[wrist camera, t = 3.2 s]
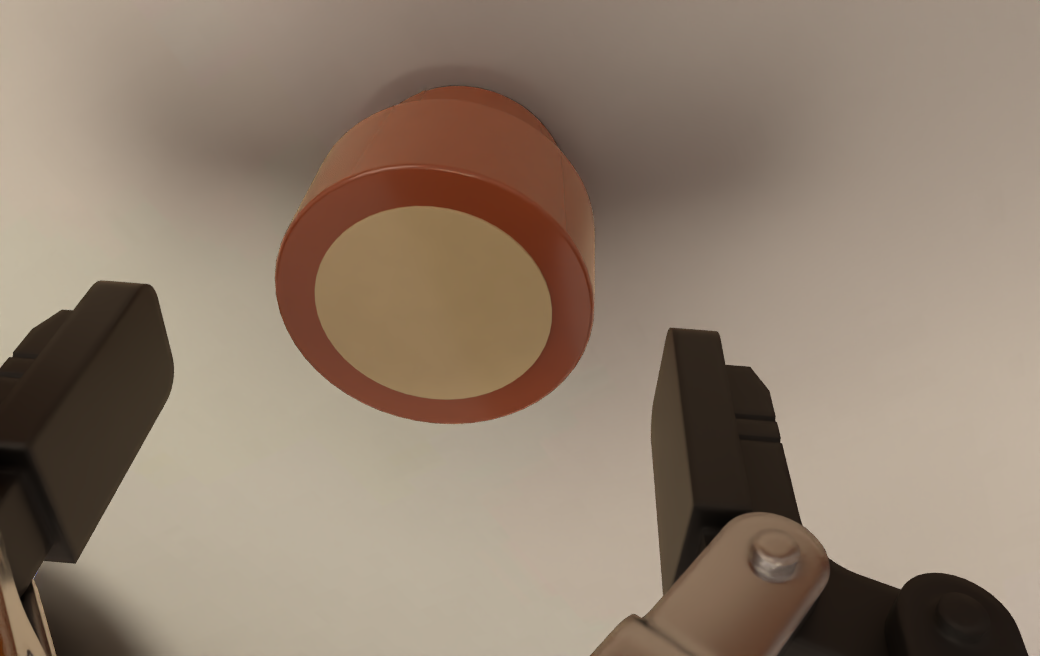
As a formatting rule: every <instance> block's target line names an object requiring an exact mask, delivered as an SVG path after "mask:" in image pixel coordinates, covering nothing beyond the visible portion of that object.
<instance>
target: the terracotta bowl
mask: <svg viewBox="0 0 1040 656" xmlns="http://www.w3.org/2000/svg"><path fill="white" fill-rule="evenodd" d="M275 288H276V297H277V301H278V305H279V310H280V314H281V316H282V319H283V321H284V324H285V327H286V329H287V331H288V333H289V334H290V336H291V338H292V340H293V342H294V343H295V345H296V346H297V348H298V349H299V350H300V352H301V353H302V355H303V356H304V357H305V359H306V360H307V361H308V362H309V363H310V364H311V365H312V366H313V367H314V368H315V369H316V370H317V371H318V372H319V373H320V374H321V375H322V376H323V377H324V378H326V379H327V380H328V381H329V382H330V383H331V384H333V385H334V386H336V387H337V388H339V389H340V390H341V391H343V392H344V393H346V394H347V395H349V396H351V397H353V398H355V399H356V400H358V401H360V402H362V403H364V404H366V405H368V406H371V407H373V408H375V409H377V410H380V411H383V412H386V413H389V414H392V415H395V416H398V417H402V418H406V419H411V420H415V421H421V422H429V423H440V424H463V423H475V422H481V421H488V420H492V419H496V418H500V417H503V416H507V415H510V414H512V413H515V412H517V411H520V410H523V409H525V408H527V407H528V406H530V405H532V404H534V403H536V402H538V401H539V400H541V399H542V398H544V397H545V396H547V395H548V394H549V393H551V392H552V391H553V390H554V389H555V388H557V387H558V386H559V385H560V384H561V383H562V382H563V381H564V380H565V379H566V378H567V376H568V375H569V374H570V373H571V371H572V370H573V369H574V368H575V366H576V365H577V363H578V362H579V360H580V358H581V356H582V355H583V353H584V351H585V349H586V346H587V343H588V341H589V338H590V335H591V331H592V326H593V321H594V300H595V226H594V217H593V211H592V207H591V203H590V200H589V196H588V194H587V191H586V189H585V187H584V184H583V182H582V180H581V178H580V177H579V175H578V173H577V172H576V170H575V168H574V167H573V165H572V164H571V163H570V161H569V160H568V159H567V158H566V156H565V155H564V154H563V153H562V152H561V150H560V149H559V148H558V147H557V145H556V143H555V141H554V139H553V138H552V136H551V134H550V133H549V131H548V130H547V129H546V128H545V127H544V125H543V124H542V123H541V122H540V121H539V120H538V119H537V118H536V117H535V116H534V115H533V114H532V113H531V112H530V111H528V110H527V109H525V108H524V107H523V106H521V105H520V104H518V103H517V102H515V101H513V100H511V99H509V98H508V97H505V96H503V95H501V94H498V93H496V92H493V91H489V90H485V89H482V88H475V87H468V86H448V87H439V88H435V89H431V90H427V91H424V92H421V93H418V94H416V95H413V96H411V97H410V98H408V99H406V100H404V101H403V102H401V103H400V104H398V105H395V106H392V107H389V108H387V109H384V110H382V111H379V112H377V113H375V114H373V115H371V116H369V117H368V118H366V119H364V120H362V121H361V122H359V123H358V124H357V125H355V126H354V127H353V128H351V129H350V130H349V131H348V132H346V133H345V134H344V135H343V136H342V137H341V138H340V140H339V141H338V142H337V143H336V144H335V145H334V146H333V147H332V149H331V150H330V152H329V153H328V155H327V156H326V158H325V159H324V161H323V163H322V165H321V167H320V168H319V170H318V172H317V174H316V176H315V178H314V180H313V182H312V183H311V185H310V187H309V189H308V191H307V193H306V195H305V197H304V199H303V200H302V202H301V204H300V206H299V208H298V210H297V212H296V214H295V215H294V217H293V219H292V221H291V223H290V225H289V227H288V229H287V231H286V233H285V235H284V238H283V240H282V242H281V244H280V248H279V252H278V256H277V259H276V269H275Z"/></svg>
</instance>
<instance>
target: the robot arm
mask: <svg viewBox="0 0 1040 656" xmlns="http://www.w3.org/2000/svg"><path fill="white" fill-rule="evenodd" d="M173 378H174V363H173V357H172V353H171V349H170V345H169V341H168V337H167V333H166V329H165V325H164V321H163V317H162V313H161V309H160V305H159V301H158V297H157V294H156V292H155V290H154V288H153V287H152V286H151V285H149V284H139V283H127V282H114V281H98V282H96V283H95V284H94V285H93V286H92V287H91V288H90V289H89V291H88V292H87V293H86V295H85V296H84V297H83V298H82V300H81V301H80V302H79V304H78V305H77V306H76V307H75V309H74V310H73V311H72V310H61V311H59V312H58V313H56V314H55V315H53V316H52V317H50V318H49V319H47V320H45V321H44V322H42V323H41V324H39V325H38V326H36V327H35V328H33V329H32V330H31V331H30V332H29V334H28V335H27V336H26V337H25V338H24V340H23V341H22V342H21V343H20V345H19V346H18V347H17V348H16V349H15V351H14V352H13V357H9V358H8V359H7V360H6V362H5V363H4V364H3V365H2V367H1V368H0V656H56V653H55V649H54V645H53V642H52V638H51V635H50V631H49V628H48V624H47V620H46V617H45V613H44V610H43V606H42V603H41V599H40V595H39V592H38V589H37V586H36V584H35V582H34V580H33V578H34V576H35V574H36V573H37V571H38V569H39V568H40V566H41V564H42V563H43V561H52V562H63V563H75V564H76V562H77V560H78V558H79V557H80V555H81V553H82V551H83V549H84V548H85V546H86V544H87V542H88V541H89V539H90V537H91V535H92V533H93V532H94V530H95V528H96V526H97V524H98V523H99V521H100V519H101V517H102V516H103V514H104V512H105V510H106V508H107V507H108V505H109V503H110V501H111V499H112V498H113V496H114V494H115V492H116V491H117V489H118V487H119V485H120V483H121V482H122V480H123V478H124V476H125V474H126V473H127V471H128V469H129V467H130V466H131V464H132V462H133V460H134V458H135V457H136V455H137V453H138V451H139V450H140V448H141V446H142V444H143V442H144V441H145V439H146V437H147V435H148V433H149V432H150V430H151V428H152V426H153V425H154V423H155V421H156V419H157V417H158V416H159V414H160V412H161V410H162V408H163V407H164V405H165V403H166V401H167V399H168V397H169V395H170V392H171V389H172V384H173ZM775 417H776V416H775V412H774V408H773V404H772V400H771V396H770V392H769V390H768V389H767V387H766V386H765V385H764V384H763V382H762V381H761V380H760V379H759V377H758V376H757V375H756V374H755V372H754V371H753V370H752V369H751V367H745V366H733V365H725V360H724V355H723V350H722V344H721V339H720V335H719V333H718V332H717V331H707V330H694V329H682V328H669V330H668V333H667V336H666V341H665V346H664V351H663V356H662V361H661V366H660V371H659V376H658V381H657V386H656V391H655V396H654V402H653V409H652V419H651V444H652V457H653V470H654V483H655V496H656V509H657V522H658V535H659V548H660V560H661V573H662V586H663V597H662V598H661V599H660V600H659V601H658V602H657V604H656V605H655V606H654V607H653V608H652V609H651V610H650V611H649V612H648V613H647V614H646V615H645V616H644V617H642V618H640V617H639V616H638V615H636V614H632V615H630V616H628V617H627V618H625V619H624V620H623V621H622V622H621V623H619V624H618V625H617V626H616V628H615V629H614V630H613V631H612V632H611V633H610V634H609V635H608V636H607V637H606V639H605V640H604V641H603V642H602V643H601V644H600V645H599V646H598V647H597V649H596V650H595V651H594V652H593V653H592V654H591V655H590V656H1028V653H1027V650H1026V648H1025V645H1024V642H1023V640H1022V637H1021V634H1020V632H1019V629H1018V627H1017V625H1016V623H1015V621H1014V619H1013V618H1012V616H1011V615H1010V613H1009V612H1008V610H1007V609H1006V608H1005V607H1004V606H1003V605H1002V604H1001V603H1000V602H999V601H998V600H997V599H996V598H995V597H994V596H993V595H991V594H990V593H989V592H987V591H986V590H985V589H983V588H981V587H980V586H978V585H976V584H974V583H972V582H970V581H968V580H966V579H963V578H960V577H957V576H954V575H949V574H944V573H927V574H922V575H918V576H916V577H914V578H912V579H910V580H909V581H908V582H907V583H906V584H905V585H904V586H903V588H902V589H898V588H895V587H892V586H889V585H887V584H884V583H881V582H878V581H875V580H873V579H870V578H867V577H864V576H861V575H859V574H856V573H854V572H851V571H849V570H847V569H845V568H843V567H841V566H840V565H838V564H836V563H835V562H833V561H832V560H831V559H829V558H828V556H827V554H826V551H825V549H824V548H823V546H822V544H821V543H820V542H819V540H818V539H817V538H816V537H815V536H814V535H813V534H812V533H811V532H810V531H809V530H808V529H806V528H805V527H803V526H802V523H801V520H800V516H799V512H798V508H797V503H796V499H795V495H794V491H793V487H792V483H791V479H790V474H789V470H788V466H787V462H786V458H785V454H784V450H783V445H782V443H780V439H781V437H780V433H779V429H778V425H777V422H775Z"/></svg>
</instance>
